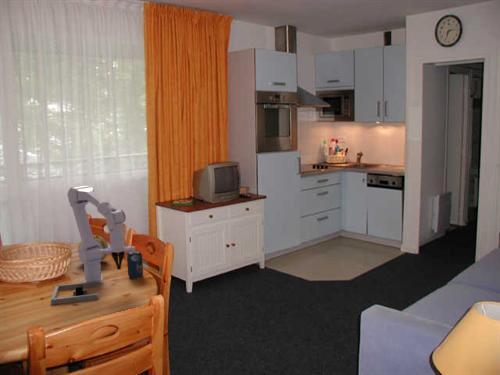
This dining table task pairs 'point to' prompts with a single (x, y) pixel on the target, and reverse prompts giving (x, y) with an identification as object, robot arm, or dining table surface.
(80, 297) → the truck bay
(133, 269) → the soda can
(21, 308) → the dining table surface
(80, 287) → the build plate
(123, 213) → the robot arm
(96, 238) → the cantaloupe
